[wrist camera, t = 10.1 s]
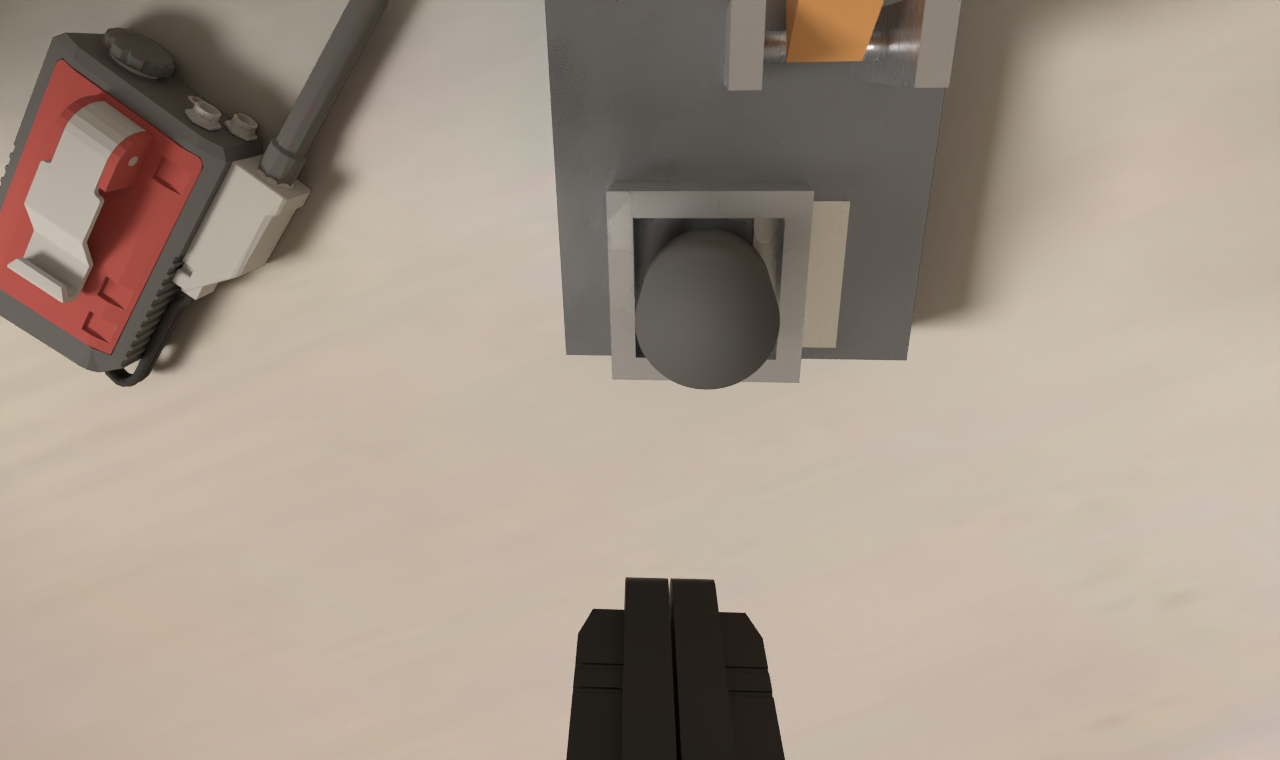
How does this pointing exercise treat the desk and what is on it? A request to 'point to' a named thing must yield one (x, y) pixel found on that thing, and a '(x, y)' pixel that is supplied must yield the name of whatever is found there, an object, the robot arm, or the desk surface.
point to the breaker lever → (829, 29)
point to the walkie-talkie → (145, 193)
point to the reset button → (707, 310)
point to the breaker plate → (745, 165)
